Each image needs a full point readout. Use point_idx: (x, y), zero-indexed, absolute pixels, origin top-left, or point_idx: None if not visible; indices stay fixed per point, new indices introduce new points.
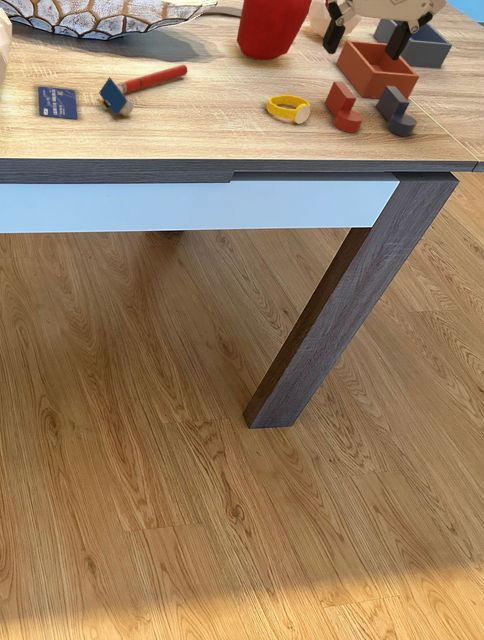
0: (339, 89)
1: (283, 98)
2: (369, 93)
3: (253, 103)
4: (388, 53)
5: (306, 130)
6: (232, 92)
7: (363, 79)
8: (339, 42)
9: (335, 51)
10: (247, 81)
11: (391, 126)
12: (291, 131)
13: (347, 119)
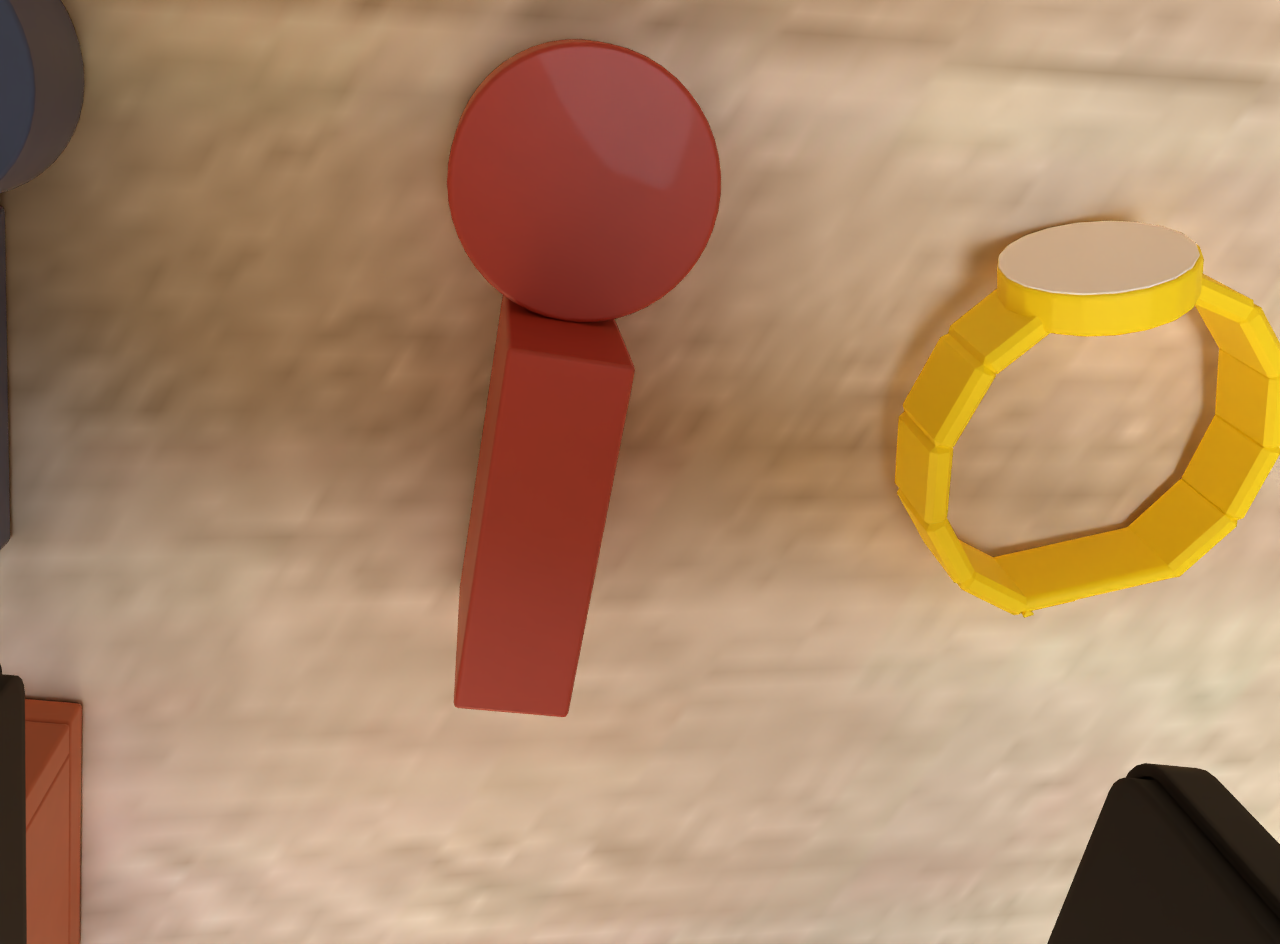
0: (594, 563)
1: (1030, 581)
2: None
3: (1222, 574)
4: (17, 852)
5: (1050, 115)
6: (1274, 724)
7: (36, 878)
8: (1243, 907)
9: (1151, 792)
10: (1042, 879)
11: (62, 49)
12: (1211, 104)
13: (690, 95)
